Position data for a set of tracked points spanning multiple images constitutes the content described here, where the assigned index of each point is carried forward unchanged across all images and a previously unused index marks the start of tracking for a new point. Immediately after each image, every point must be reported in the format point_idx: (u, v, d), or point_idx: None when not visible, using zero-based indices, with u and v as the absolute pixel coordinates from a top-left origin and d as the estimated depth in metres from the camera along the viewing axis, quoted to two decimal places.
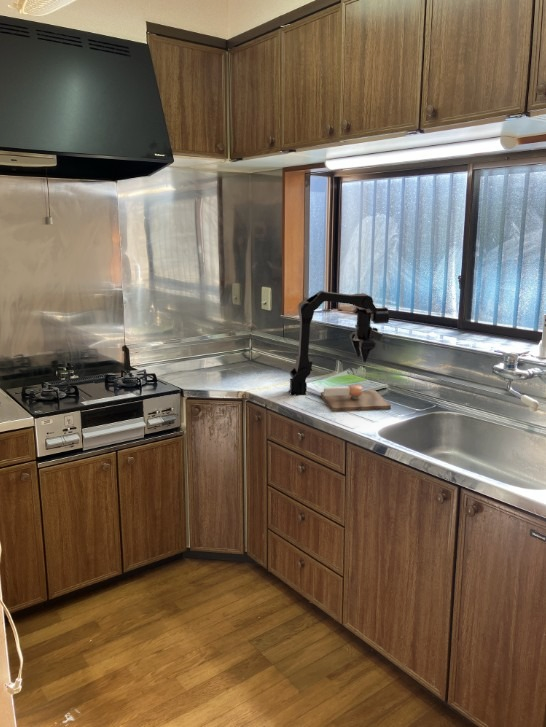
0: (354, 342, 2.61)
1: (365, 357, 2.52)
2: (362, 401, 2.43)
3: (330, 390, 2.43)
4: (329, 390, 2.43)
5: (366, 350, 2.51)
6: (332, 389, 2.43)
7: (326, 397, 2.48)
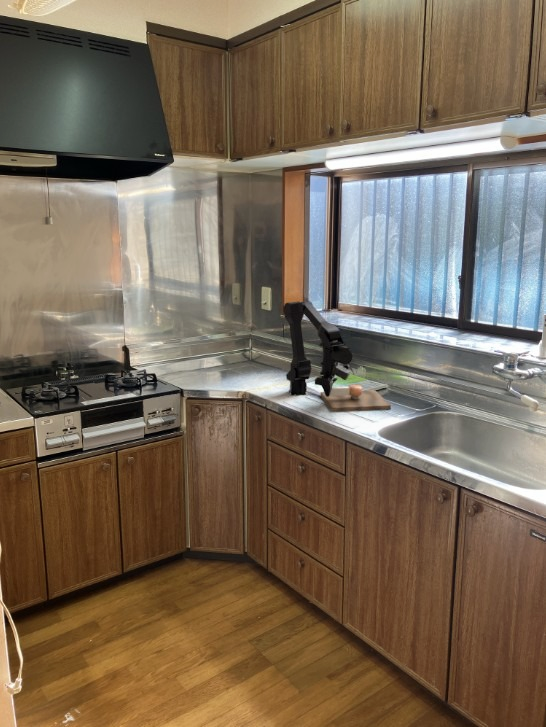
0: None
1: (327, 391, 2.40)
2: (362, 401, 2.43)
3: None
4: None
5: None
6: (332, 389, 2.43)
7: (326, 397, 2.48)
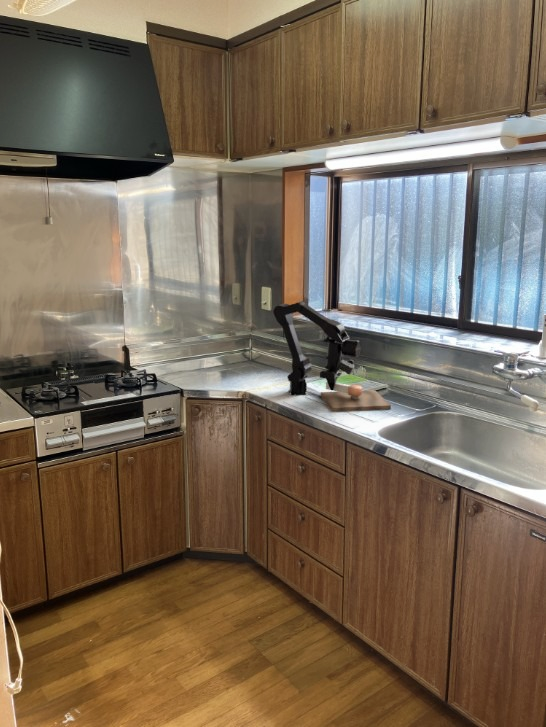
0: None
1: (331, 385, 2.48)
2: (362, 401, 2.43)
3: None
4: None
5: (332, 378, 2.46)
6: None
7: (326, 397, 2.48)
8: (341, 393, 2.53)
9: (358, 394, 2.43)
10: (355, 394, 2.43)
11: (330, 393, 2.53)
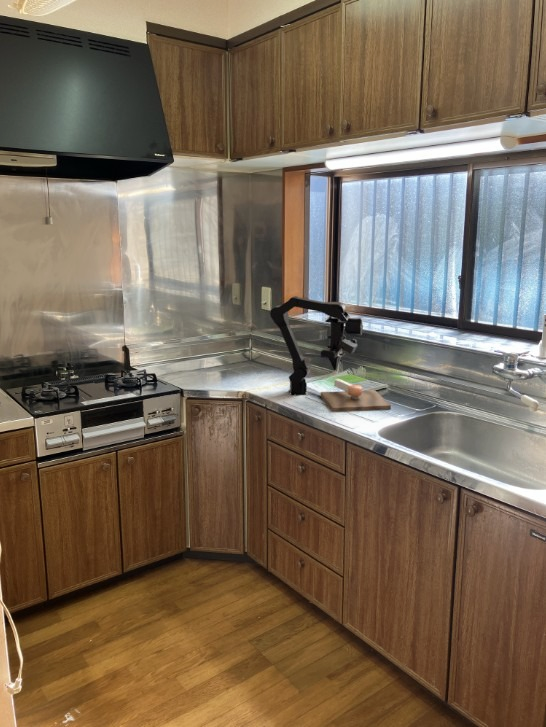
0: None
1: (334, 365, 2.49)
2: (362, 401, 2.43)
3: (337, 382, 2.54)
4: (337, 382, 2.54)
5: (334, 358, 2.48)
6: (339, 382, 2.53)
7: (326, 397, 2.48)
8: (341, 393, 2.53)
9: (355, 394, 2.43)
10: (352, 394, 2.43)
11: (330, 393, 2.53)
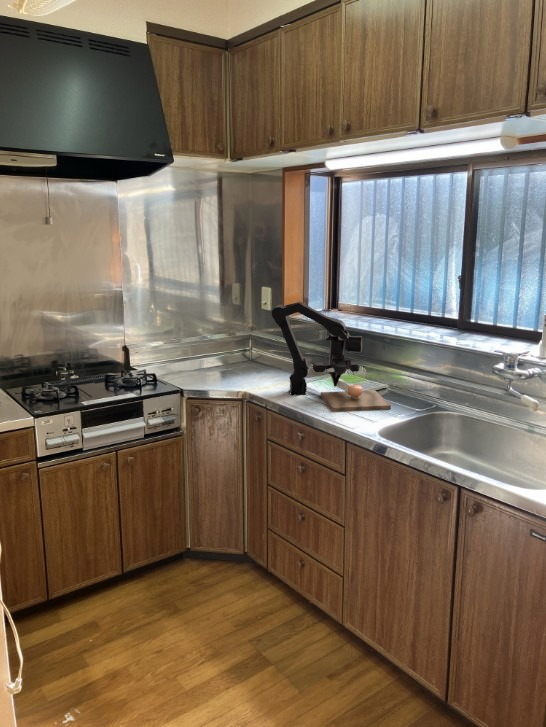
0: None
1: (333, 381, 2.53)
2: (362, 401, 2.43)
3: (338, 382, 2.54)
4: None
5: None
6: (339, 381, 2.53)
7: (326, 397, 2.48)
8: (341, 393, 2.53)
9: (355, 394, 2.43)
10: (352, 394, 2.44)
11: (330, 393, 2.53)
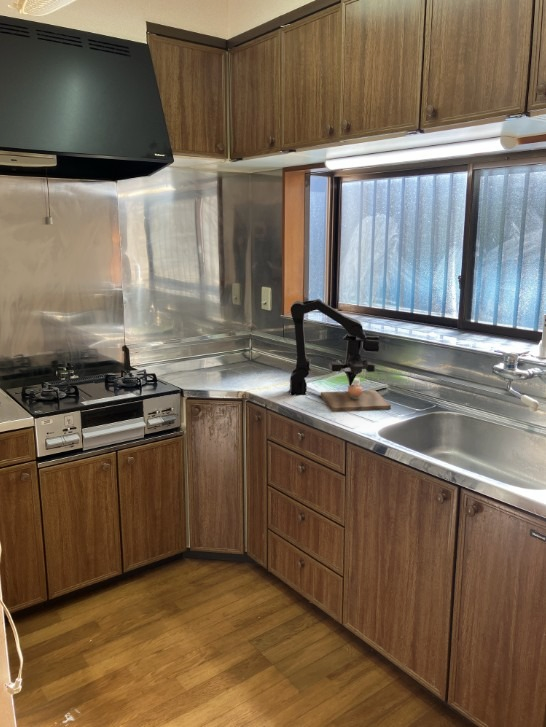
0: None
1: (348, 381, 2.54)
2: (362, 401, 2.43)
3: None
4: None
5: None
6: None
7: (326, 397, 2.48)
8: (341, 393, 2.53)
9: (350, 393, 2.44)
10: (348, 393, 2.45)
11: (330, 393, 2.53)
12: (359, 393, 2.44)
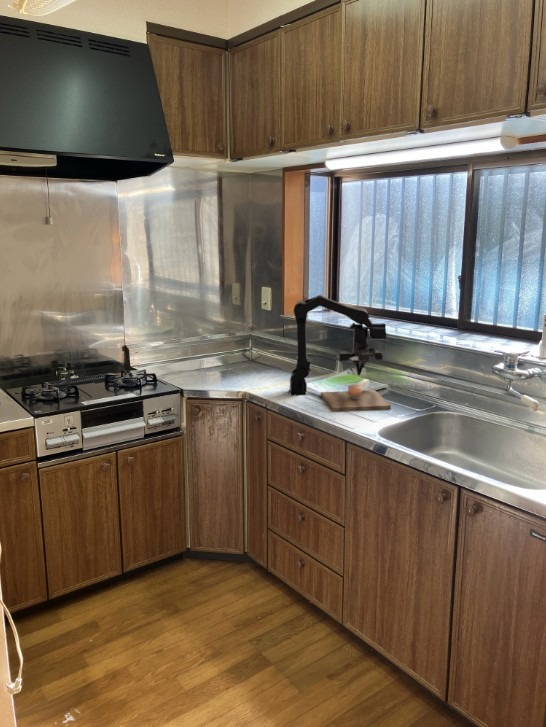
0: (359, 359, 2.54)
1: (356, 370, 2.53)
2: (362, 401, 2.43)
3: None
4: None
5: None
6: None
7: (326, 397, 2.48)
8: (341, 393, 2.53)
9: (349, 393, 2.45)
10: (348, 392, 2.46)
11: (330, 393, 2.53)
12: (357, 393, 2.43)
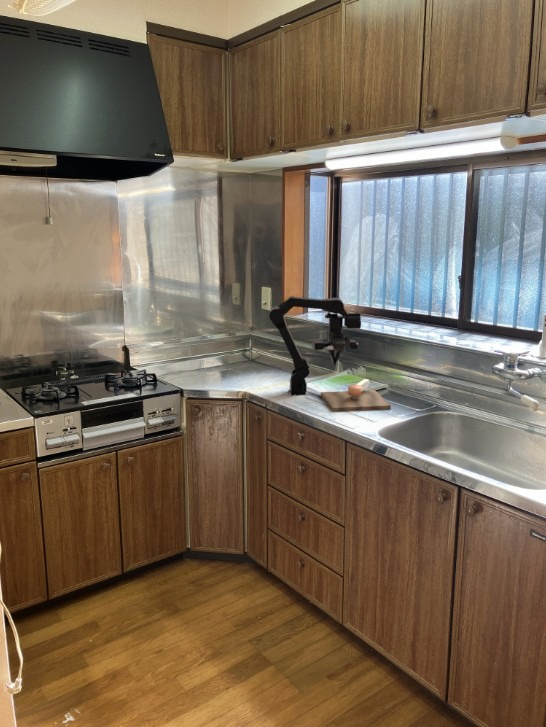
0: (335, 349, 2.54)
1: (332, 359, 2.53)
2: (362, 401, 2.43)
3: None
4: None
5: None
6: None
7: (326, 397, 2.48)
8: (341, 393, 2.53)
9: (349, 393, 2.45)
10: (348, 392, 2.46)
11: (330, 393, 2.53)
12: (357, 393, 2.43)
